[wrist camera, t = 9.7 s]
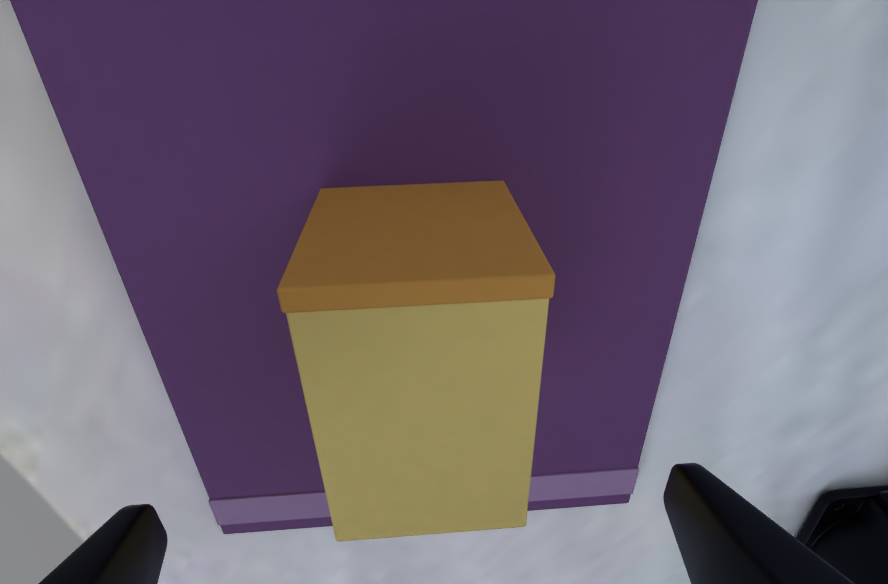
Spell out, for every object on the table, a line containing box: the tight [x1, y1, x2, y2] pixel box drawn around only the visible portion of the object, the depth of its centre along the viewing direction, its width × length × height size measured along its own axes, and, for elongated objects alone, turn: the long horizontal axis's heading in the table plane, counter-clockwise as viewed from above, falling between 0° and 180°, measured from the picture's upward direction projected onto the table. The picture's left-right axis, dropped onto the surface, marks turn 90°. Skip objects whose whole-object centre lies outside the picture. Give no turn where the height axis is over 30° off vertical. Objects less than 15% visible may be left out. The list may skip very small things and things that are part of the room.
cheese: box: [277, 180, 555, 541], centre depth 12 cm, size 7×5×5 cm, turn 1°
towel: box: [10, 0, 758, 534], centre depth 15 cm, size 20×16×1 cm
